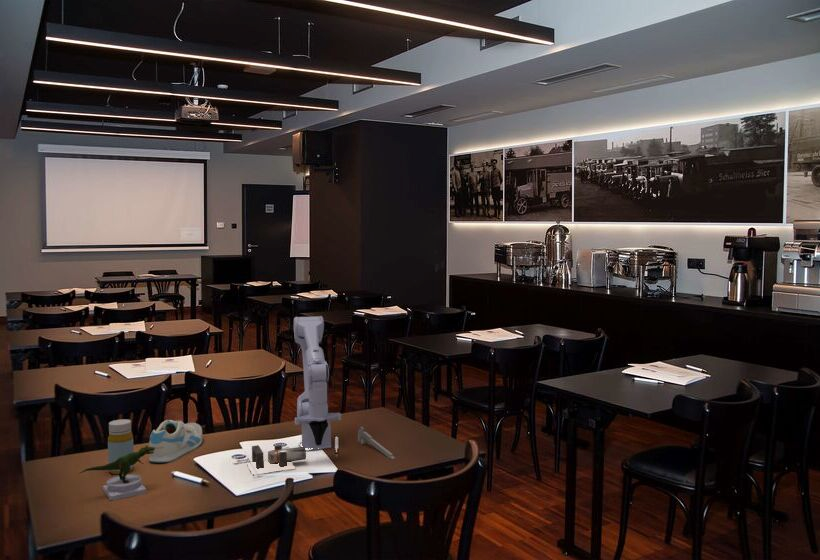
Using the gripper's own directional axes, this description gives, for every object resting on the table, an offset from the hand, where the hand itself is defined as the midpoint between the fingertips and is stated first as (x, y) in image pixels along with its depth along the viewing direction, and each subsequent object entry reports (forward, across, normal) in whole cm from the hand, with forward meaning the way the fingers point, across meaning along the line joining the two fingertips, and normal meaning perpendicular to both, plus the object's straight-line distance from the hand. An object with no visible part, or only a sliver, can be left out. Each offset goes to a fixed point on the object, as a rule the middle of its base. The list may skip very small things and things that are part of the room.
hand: (318, 444), depth 213 cm
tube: (+4, -10, 0) cm, 11 cm away
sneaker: (+6, -40, +28) cm, 49 cm away
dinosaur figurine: (+6, -58, -3) cm, 58 cm away
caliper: (+6, +20, +2) cm, 21 cm away
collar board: (+5, -15, 0) cm, 16 cm away
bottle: (+6, -57, +15) cm, 59 cm away
